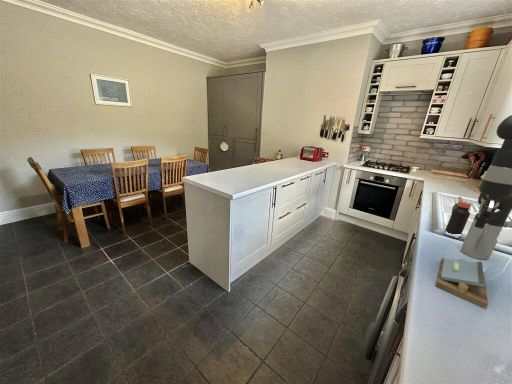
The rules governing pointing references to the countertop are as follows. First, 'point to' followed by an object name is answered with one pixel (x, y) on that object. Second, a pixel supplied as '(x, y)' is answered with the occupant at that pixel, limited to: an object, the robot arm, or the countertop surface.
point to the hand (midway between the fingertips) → (478, 227)
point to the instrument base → (471, 292)
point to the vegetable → (457, 204)
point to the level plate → (463, 272)
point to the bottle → (458, 218)
